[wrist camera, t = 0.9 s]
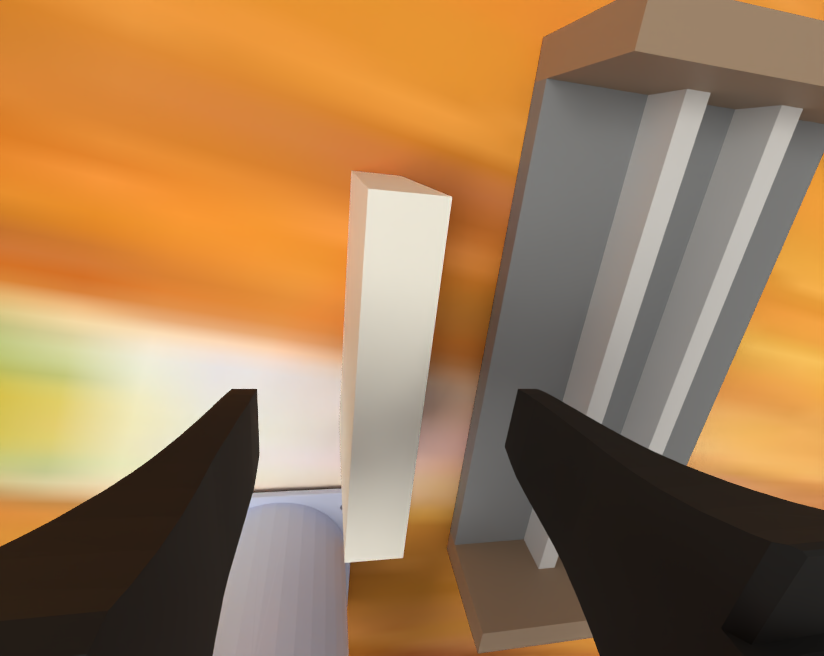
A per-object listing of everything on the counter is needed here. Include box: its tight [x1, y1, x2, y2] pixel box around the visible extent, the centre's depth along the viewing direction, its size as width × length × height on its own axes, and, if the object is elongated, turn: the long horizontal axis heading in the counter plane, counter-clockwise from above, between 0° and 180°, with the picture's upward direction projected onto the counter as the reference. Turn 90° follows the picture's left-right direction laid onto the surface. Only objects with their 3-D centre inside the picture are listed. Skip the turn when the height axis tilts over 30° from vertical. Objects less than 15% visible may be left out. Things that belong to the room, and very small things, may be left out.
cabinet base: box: [447, 0, 824, 653], centre depth 20 cm, size 27×14×6 cm, turn 174°
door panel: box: [339, 171, 452, 563], centre depth 16 cm, size 12×2×8 cm, turn 174°
